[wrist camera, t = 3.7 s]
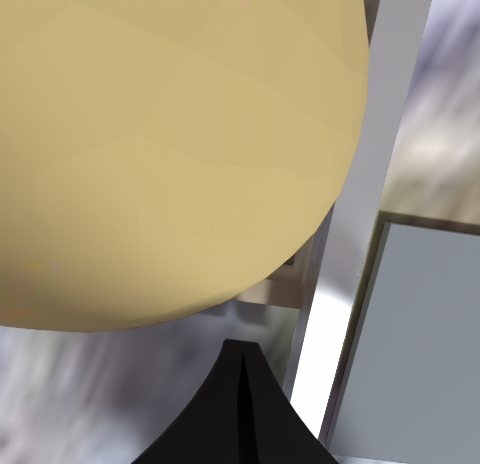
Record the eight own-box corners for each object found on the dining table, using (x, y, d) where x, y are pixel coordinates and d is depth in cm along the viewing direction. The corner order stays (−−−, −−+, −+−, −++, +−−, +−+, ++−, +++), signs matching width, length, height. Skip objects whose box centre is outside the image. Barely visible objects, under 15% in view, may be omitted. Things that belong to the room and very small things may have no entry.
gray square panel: (546, 471, 14) (556, 482, 14) (325, 443, 14) (327, 453, 14) (656, 260, 12) (674, 264, 11) (385, 221, 11) (391, 223, 11)
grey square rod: (314, 406, 11) (327, 452, 9) (269, 400, 11) (275, 445, 9) (428, -56, 7) (486, -126, 6) (364, -67, 7) (401, -141, 6)
